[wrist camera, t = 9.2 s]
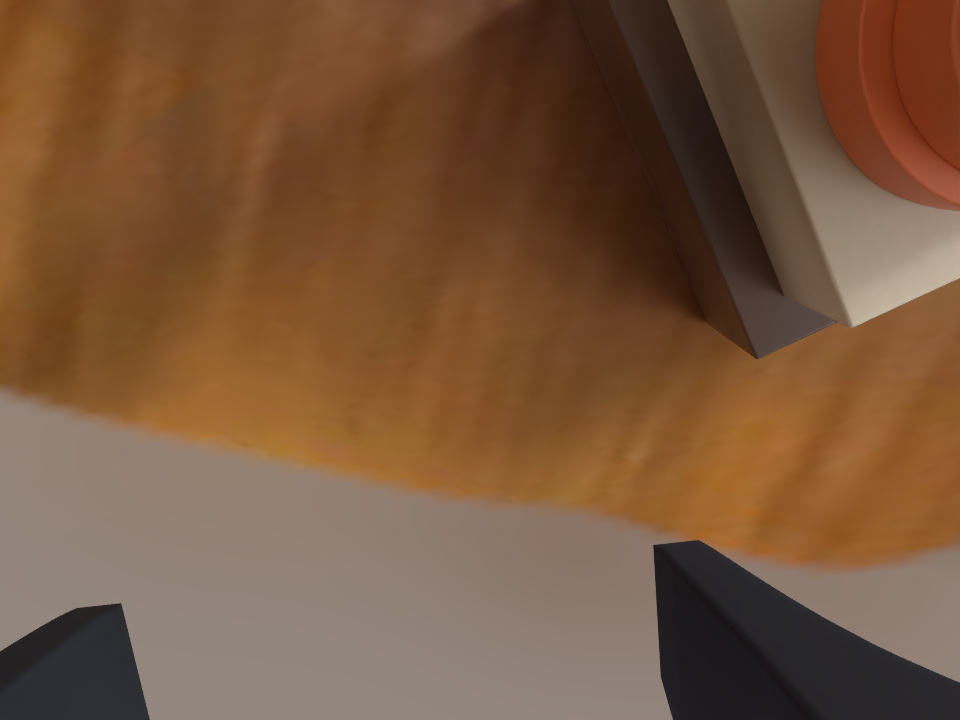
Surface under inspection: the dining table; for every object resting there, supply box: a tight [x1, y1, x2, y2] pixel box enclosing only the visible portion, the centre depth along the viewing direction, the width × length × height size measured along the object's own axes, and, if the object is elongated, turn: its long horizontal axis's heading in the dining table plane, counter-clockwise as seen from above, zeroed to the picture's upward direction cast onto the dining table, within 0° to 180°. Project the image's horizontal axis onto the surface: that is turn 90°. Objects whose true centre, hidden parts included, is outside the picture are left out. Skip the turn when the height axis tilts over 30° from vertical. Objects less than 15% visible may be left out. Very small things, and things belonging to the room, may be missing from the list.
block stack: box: [570, 0, 960, 359], centre depth 16 cm, size 9×9×6 cm
